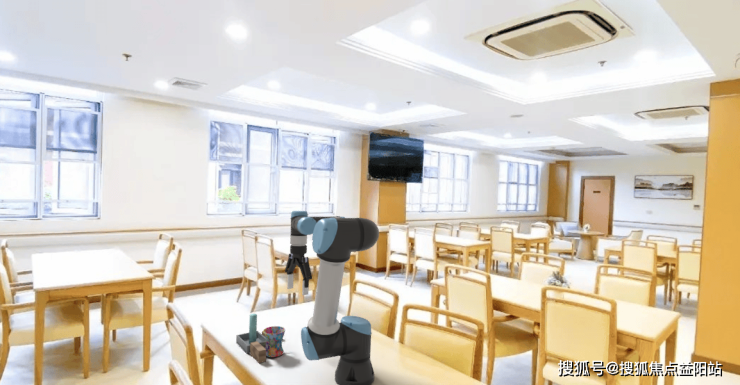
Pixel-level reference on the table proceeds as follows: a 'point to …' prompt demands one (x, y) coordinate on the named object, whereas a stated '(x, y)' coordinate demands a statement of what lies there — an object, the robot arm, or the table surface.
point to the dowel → (252, 328)
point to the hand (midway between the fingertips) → (297, 291)
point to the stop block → (258, 352)
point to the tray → (244, 341)
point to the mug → (274, 341)
